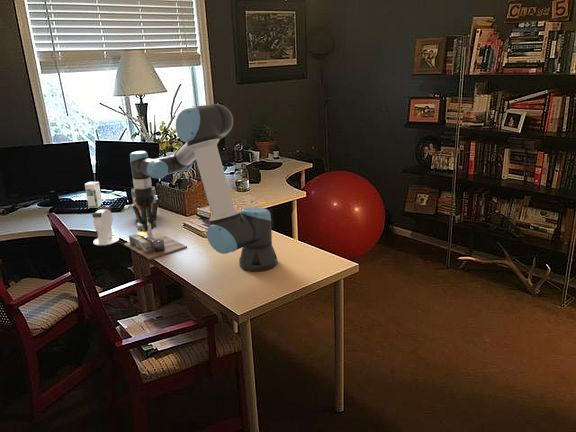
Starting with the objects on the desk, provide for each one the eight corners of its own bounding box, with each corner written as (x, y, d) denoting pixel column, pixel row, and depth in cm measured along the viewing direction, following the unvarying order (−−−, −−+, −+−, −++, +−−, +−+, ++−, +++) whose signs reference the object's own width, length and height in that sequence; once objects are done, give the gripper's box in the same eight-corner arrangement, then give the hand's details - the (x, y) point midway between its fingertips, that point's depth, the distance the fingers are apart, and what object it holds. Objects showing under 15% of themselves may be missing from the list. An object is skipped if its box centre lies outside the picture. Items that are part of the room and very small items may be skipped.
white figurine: (100, 235, 231) (95, 205, 227) (123, 235, 230) (119, 205, 226) (88, 245, 220) (83, 214, 215) (112, 245, 219) (107, 213, 214)
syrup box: (88, 208, 274) (84, 183, 269) (93, 205, 279) (89, 181, 274) (97, 209, 273) (93, 184, 268) (103, 205, 278) (99, 181, 274)
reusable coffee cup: (148, 211, 266) (145, 184, 261) (163, 214, 259) (160, 187, 254) (129, 217, 256) (125, 190, 252) (144, 221, 249) (141, 193, 244)
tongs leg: (166, 249, 209) (165, 241, 208) (157, 252, 207) (156, 243, 205) (145, 237, 224) (144, 229, 223) (136, 240, 221) (135, 232, 220)
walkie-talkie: (132, 223, 248) (144, 234, 232) (130, 215, 246) (142, 226, 230) (149, 220, 252) (161, 231, 236) (147, 212, 251) (160, 222, 235)
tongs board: (187, 248, 213) (186, 238, 212) (149, 260, 202) (148, 250, 200) (160, 234, 230) (159, 226, 229) (124, 245, 219) (122, 236, 217)
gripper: (152, 182, 219) (158, 231, 227) (125, 188, 211) (132, 238, 219) (160, 185, 214) (166, 235, 222) (132, 191, 206) (140, 243, 214)
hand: (149, 236), depth 220 cm, fingers closed
